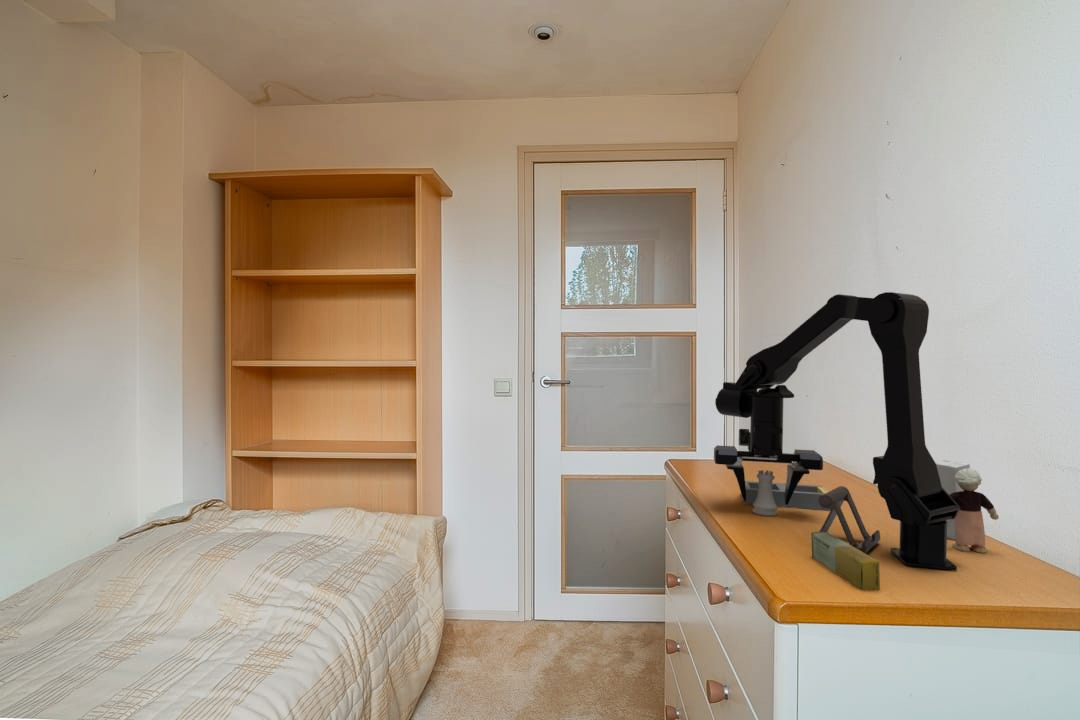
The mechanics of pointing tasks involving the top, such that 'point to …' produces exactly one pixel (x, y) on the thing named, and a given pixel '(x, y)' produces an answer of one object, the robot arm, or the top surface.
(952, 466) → the skincare box
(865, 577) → the medication box
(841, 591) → the top surface
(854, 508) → the portable electronic device stand
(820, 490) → the rail
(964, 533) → the grandmother figurine
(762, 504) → the rook chess piece
